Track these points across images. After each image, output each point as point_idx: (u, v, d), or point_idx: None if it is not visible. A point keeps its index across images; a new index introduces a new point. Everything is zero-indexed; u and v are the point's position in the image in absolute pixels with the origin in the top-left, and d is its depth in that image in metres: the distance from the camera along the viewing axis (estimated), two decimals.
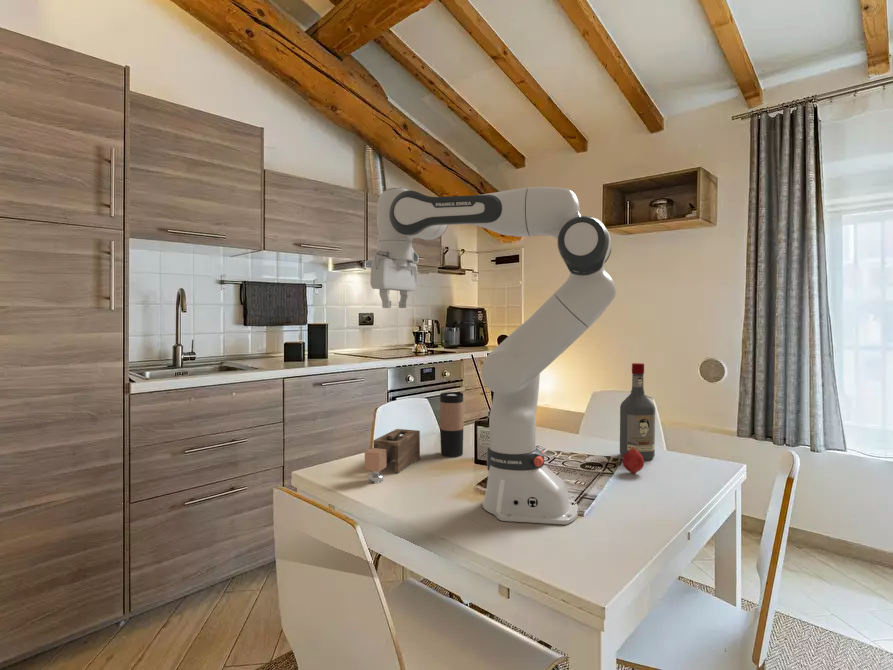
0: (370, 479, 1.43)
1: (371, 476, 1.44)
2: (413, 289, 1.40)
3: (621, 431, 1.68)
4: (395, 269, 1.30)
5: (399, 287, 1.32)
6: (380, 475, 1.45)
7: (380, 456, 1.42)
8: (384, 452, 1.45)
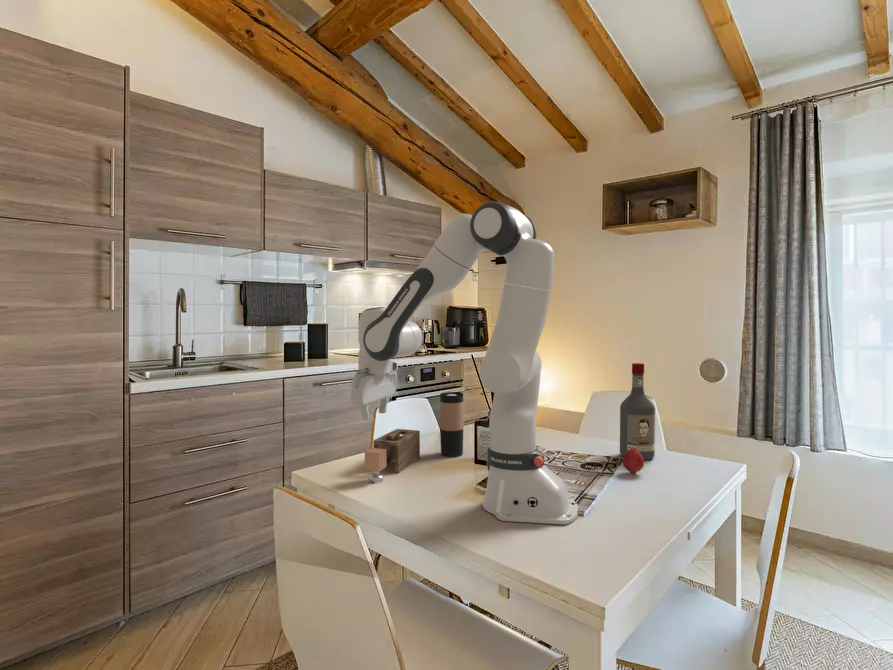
0: (370, 479, 1.43)
1: (371, 476, 1.44)
2: (392, 394, 1.50)
3: (621, 431, 1.68)
4: (374, 383, 1.40)
5: (378, 398, 1.42)
6: (380, 475, 1.45)
7: (380, 456, 1.42)
8: (384, 452, 1.45)
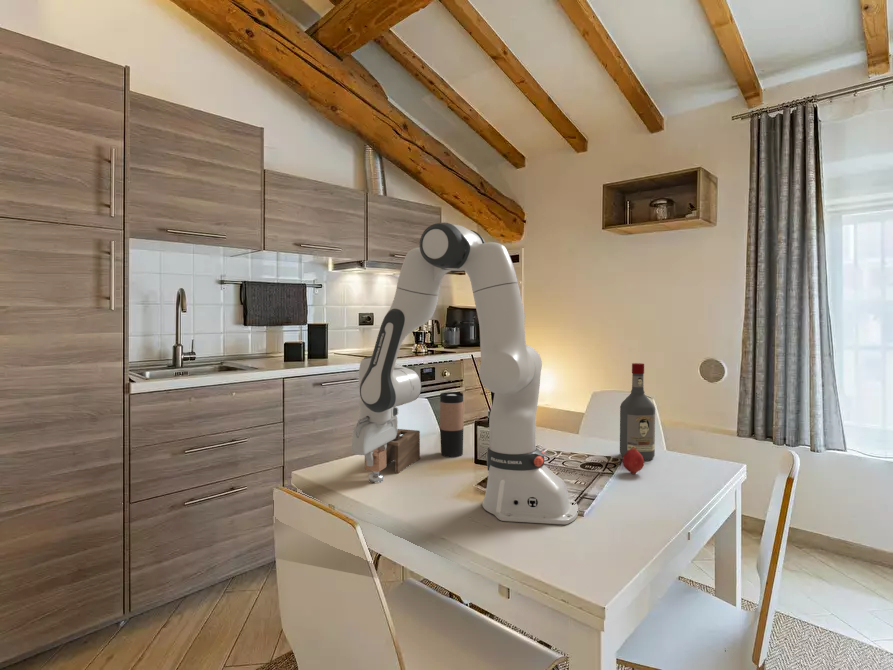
0: (370, 479, 1.43)
1: (371, 476, 1.44)
2: (393, 438, 1.51)
3: (621, 431, 1.68)
4: (375, 430, 1.41)
5: (379, 445, 1.43)
6: (380, 475, 1.45)
7: (380, 456, 1.42)
8: (384, 452, 1.45)
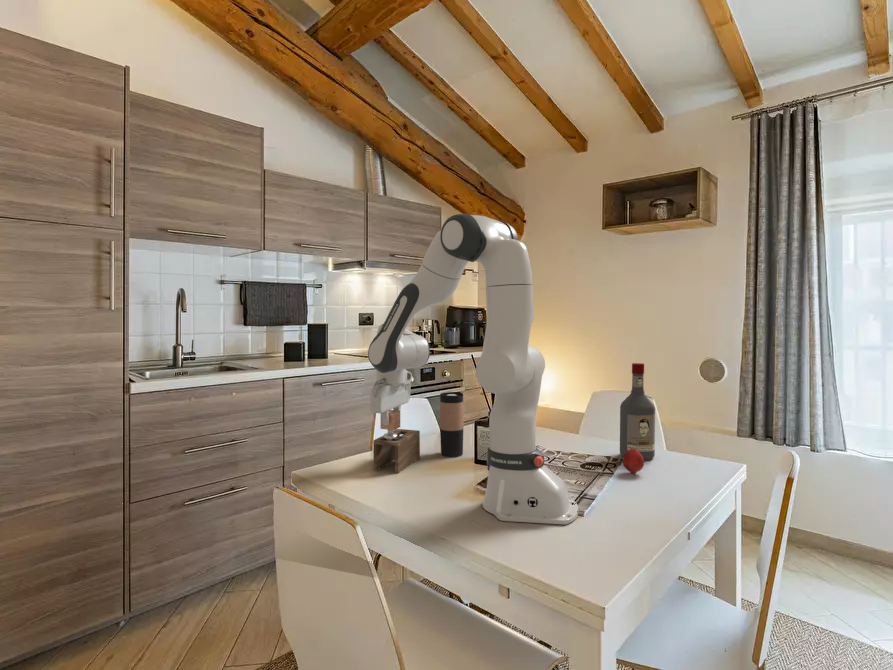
0: (385, 437, 1.55)
1: (386, 435, 1.55)
2: (406, 402, 1.62)
3: (621, 431, 1.68)
4: (391, 392, 1.52)
5: (394, 406, 1.54)
6: (394, 434, 1.56)
7: (394, 416, 1.53)
8: (398, 413, 1.56)
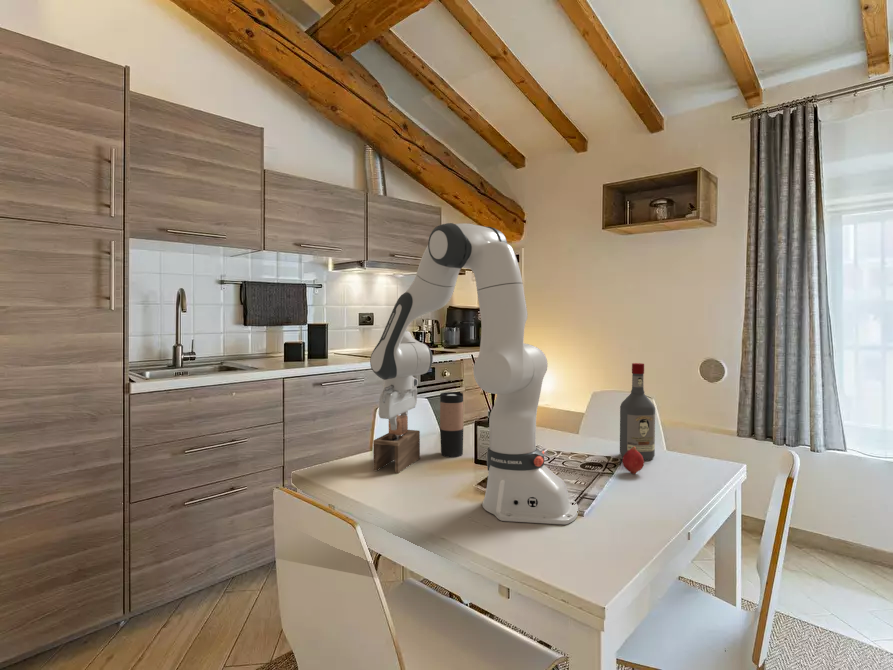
0: None
1: (394, 439, 1.60)
2: (413, 407, 1.67)
3: (621, 431, 1.68)
4: (399, 398, 1.57)
5: (402, 411, 1.59)
6: None
7: (402, 421, 1.58)
8: (406, 418, 1.61)
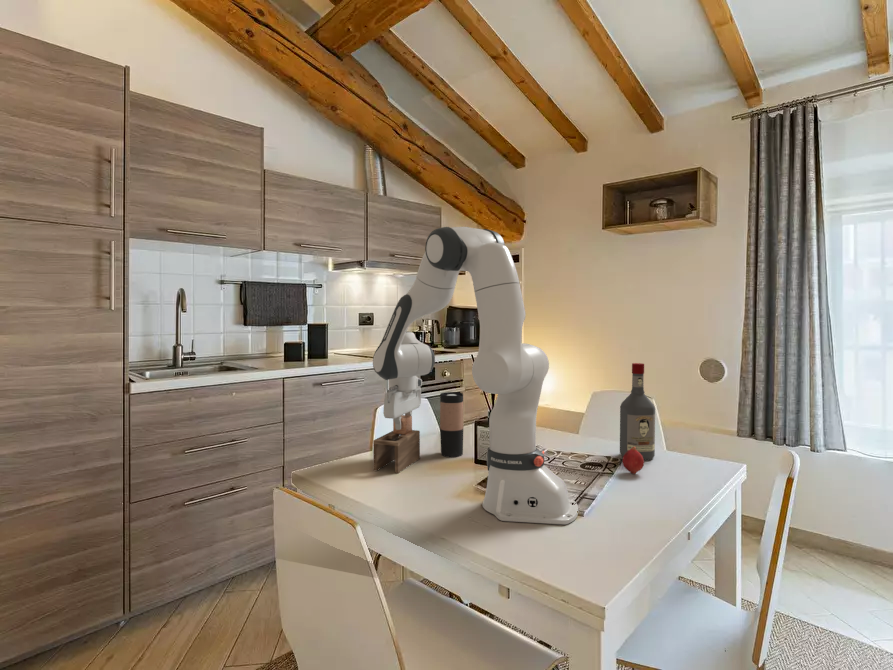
0: None
1: None
2: (417, 407, 1.70)
3: (621, 431, 1.68)
4: (403, 398, 1.60)
5: (406, 411, 1.62)
6: None
7: (406, 421, 1.61)
8: (410, 418, 1.63)
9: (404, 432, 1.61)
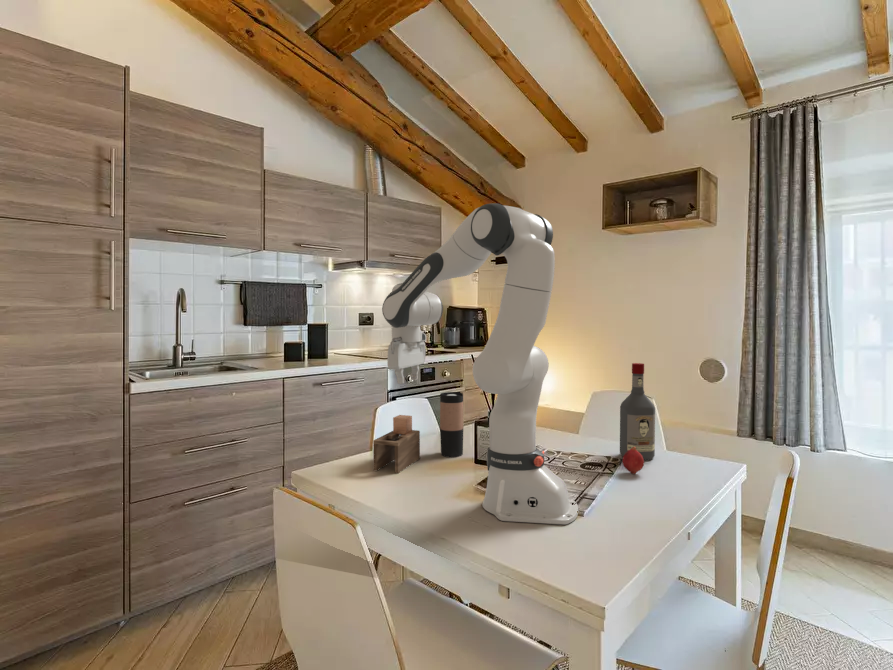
0: None
1: None
2: (422, 363, 1.66)
3: (621, 431, 1.68)
4: (407, 350, 1.56)
5: (411, 364, 1.58)
6: None
7: (406, 421, 1.61)
8: (410, 418, 1.63)
9: (404, 432, 1.61)
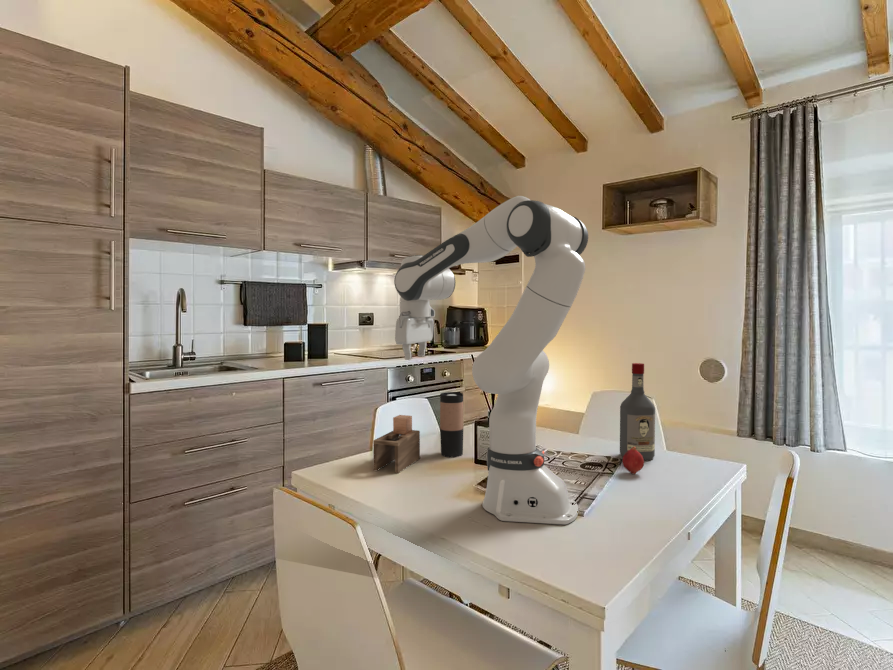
0: None
1: None
2: (430, 340, 1.61)
3: (621, 431, 1.68)
4: (415, 325, 1.51)
5: (419, 340, 1.52)
6: None
7: (406, 421, 1.61)
8: (410, 418, 1.63)
9: (404, 432, 1.61)
